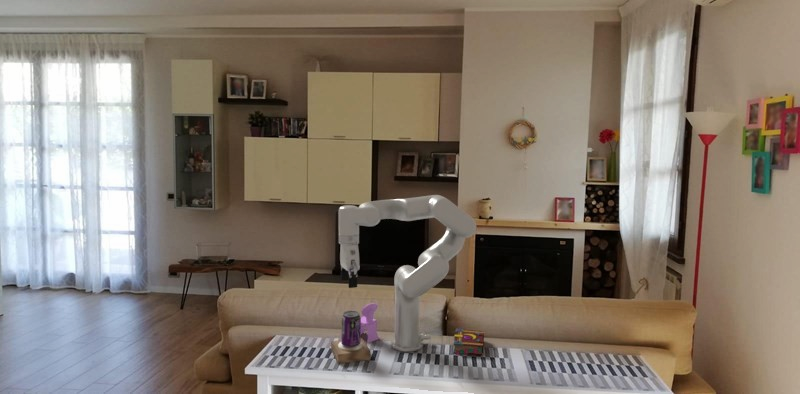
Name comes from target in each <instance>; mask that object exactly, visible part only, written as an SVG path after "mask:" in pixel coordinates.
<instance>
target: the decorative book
mask: <svg viewBox="0 0 800 394" xmlns="http://www.w3.org/2000/svg"><path fill="white" fill-rule="evenodd" d="M454 332H455V334H454V337H453V338H454V339H453V347H454V348H453V353H452V354H453V355H455V356H460V355H462V356H463V355H469V356H481V357H482V356H483V355H484V351H485V347H484V346H485V345H484V344H485V340H484V339H485V333H484V331H483V330H473V329H472V330H471V329H466V328H455V331H454Z"/></svg>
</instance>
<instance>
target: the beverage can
mask: <svg viewBox="0 0 800 394" xmlns="http://www.w3.org/2000/svg"><path fill="white" fill-rule="evenodd" d="M340 321H341V324H340V325H341V326H340V328H341V330H340V331H341V335H340V336H341V337H340V340H341V343H342V345H344V346H346V347H355V346H357V345H359V344H360V343H361V338H362V337H361V315H360V312H359V311H356V310H347V311H344V312H343V313H342V316H341V320H340Z"/></svg>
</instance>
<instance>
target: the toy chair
mask: <svg viewBox="0 0 800 394" xmlns="http://www.w3.org/2000/svg"><path fill="white" fill-rule="evenodd" d="M376 310H378V304H377V303H376V302H371V303H368V304H366V305H364V307H362V309H361V315H362V316H360V318H361V334H362V333H364V332H366V334H367V339H366V340H367V341H366V344H368V343H371V342H374V341H376V340H378V339H380V337H379V335H378V332H377V330H378V322H377V321H378V320H377V319H375V318H374V314H375V312H376ZM364 334H365V333H364ZM362 335H363V334H362Z"/></svg>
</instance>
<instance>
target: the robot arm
mask: <svg viewBox="0 0 800 394" xmlns="http://www.w3.org/2000/svg"><path fill="white" fill-rule="evenodd" d="M337 214H338V244H339V245H340V247H339V248H340V252H339V261H340V264H339V265H340V280H341V281H342V282H343V281H347V282H348V288H349V289H353V288H358V271H360V251H359V244H360V226H363V227H375V226H376V225H378V224H379V223H380V222H381V220H386V219H387V220H389V219H390V220H391V219H392V220H399V221H403V222H404V221H405V222H412V221H417V220H418V221H419V220H424V219H433V218H435V219H436V220H437V221H439V222H440V223H441V224H442V225H443V226H444V227H446V229H445V233H444V234H443V236H442V237H441V238H440V239H438V240H437V242H435V243H434V244H432V245H431V246H430V247H428V248H427V249H426V250H424V251H423V252H422V253H421V254H420V255H419V256H418V259H417V260H418V261H417V264H418V265H417V266H418V267H417V268H416V267H414V266H412V265H409V264H406V265H405V264H404V265H402V266H400V267H399V268H397V270H396V272H395V274H394V279H393V280H394V283H393V284H394V295H395V297H394V298H395V299H394V302H395V303H394V338H392V339H391V340H390V347H391V349H393V350H396V351H399V352H405V353H407V352H416V351H419V350H420V349H422V348H423V346H424V345H423V341H425V340H428V341H429V340H431V338H432V336H431V334H426V333H425V332H421V333H420V310H421V309H420V307H421V297H422V296H423V295H425V294H426V293H427V292H429V291H430V290H431V289H433V288H434V287H435V286H437V284H439V283H440V282H441V281H443V280H444V278H445V277H446V276H447V274H448V273H449V271H450V262H449V261H451V260H452V259H453V258H454V257H456V256H457V254H458V253H459V252H460V251H461V250H462V249H463V246H464V244H465V241H466V239H468V238H470V237H472V236H473V235H475V232H476V230H477V222H476V220H475V219H474V218H473V217H472V216H471V215H469V213H467V212H466V211H464V210H463V209H461V208H460V207H459V206H457V205H456V204H454V203H453V201H451V200H450V199H449V198H446V197H445V196H442V195H440V194H432V195H425V196H423V195H422V196H417V197H407V198H406V197H405V198H396V199H380V200H373V201H366V202H365V201H364V202H363V203H361V204H360V205H359V206H356V205H352V204H351V205H350V204H347V205H341V206H340V207H339V208H338V213H337Z"/></svg>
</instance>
